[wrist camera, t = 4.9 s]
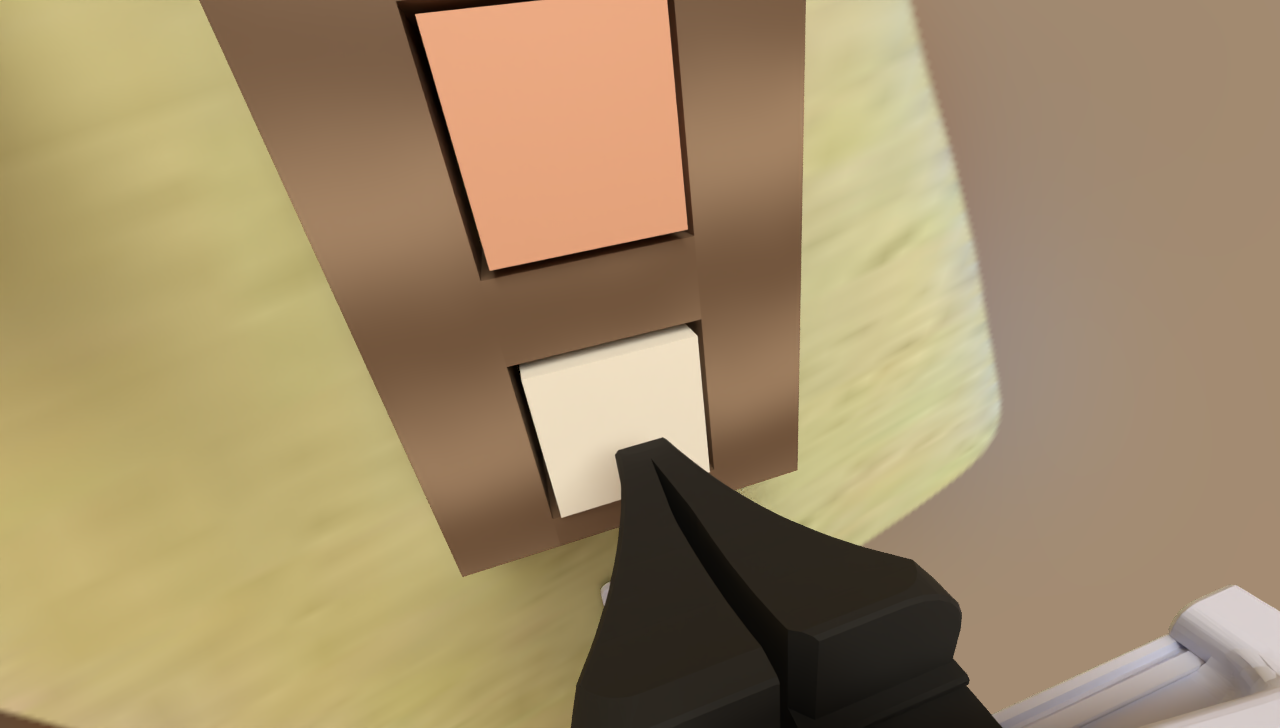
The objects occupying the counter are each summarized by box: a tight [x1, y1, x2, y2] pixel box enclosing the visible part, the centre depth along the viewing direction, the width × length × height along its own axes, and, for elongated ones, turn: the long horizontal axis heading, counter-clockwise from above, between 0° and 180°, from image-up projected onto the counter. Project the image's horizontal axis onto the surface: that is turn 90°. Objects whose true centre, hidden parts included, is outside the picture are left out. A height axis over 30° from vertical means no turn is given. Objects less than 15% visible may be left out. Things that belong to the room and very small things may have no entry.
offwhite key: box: [519, 323, 710, 518], centre depth 16 cm, size 5×5×2 cm
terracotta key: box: [415, 0, 688, 271], centre depth 12 cm, size 5×5×2 cm
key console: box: [199, 0, 806, 577], centre depth 15 cm, size 16×12×4 cm
